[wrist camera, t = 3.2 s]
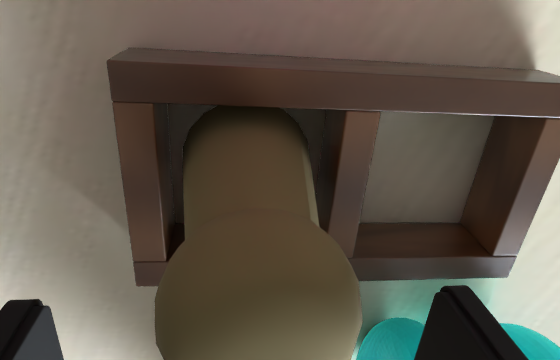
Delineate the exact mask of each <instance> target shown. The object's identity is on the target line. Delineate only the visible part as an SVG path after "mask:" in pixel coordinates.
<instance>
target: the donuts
mask: <svg viewBox="0 0 560 360" xmlns="http://www.w3.org/2000/svg"><path fill="white" fill-rule="evenodd" d="M499 324H500V325H501V326H502V328H503V329H504V330H505V331H506V332H507V334H508V335H509V336H510V337H511V339H512V340H513V341H514V342H515V343H516V345H517V346H518V347H519V348H520V350H521V351H522V352H523V353H524V354H525V356H526V357H527V358H528V359H529V360H560V347H558V346H557V345H556V344H555V343H553V342H552V341H550V340H549V339H548V338H546V337H545V336H543V335H541V334H539V333H537V332H535V331H533V330H531V329H528V328H525V327H523V326H519V325H514V324H504V323H499ZM424 327H425V325H423V324H422V323H420V322H418V321H415V320H412V319H408V318H399V317H395V318H390V319H386V320H384V321H382V322H380V323H378V324H377V325H375V326H374V327H373V328H372V329H371V330H370V331H369V332H368V334H367V335H366V337H365V338H364V340H363V342H362V344H361V346H360V349H359V352H358V355H357V359H356V360H414V358H415V355H416V352H417V349H418V345H419V342H420V339H421V336H422V333H423V330H424Z"/></svg>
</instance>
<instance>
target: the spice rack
mask: <svg viewBox="0 0 560 360" xmlns="http://www.w3.org/2000/svg"><path fill="white" fill-rule="evenodd" d="M107 68H108V76H109V83H110V91H111V98H112V101H113V103H112V105H113V113H114V120H115V128H116V136H117V143H118V151H119V158H120V166H121V174H122V181H123V189H124V197H125V204H126V212H127V220H128V227H129V235H130V243H131V250H132V258H133V261H134V262H133V266H134V273H135V281H136V286H138V287H140V286H159V283H160V281H161V278H162V276H163V274H164V272H165V269H166V267H167V265H168V263H169V260H170V259H171V257H172V256H173V254H174V253H175V251H176V250H177V248H178V247H179V246H180V245H181V244H182V243H183V242H184V241H185V225H184V224H175V215H174V199H173V184H172V168H171V153H170V137H169V122H168V106H167V103H171V104H197V105H224V106H251V107H278V108H305V109H326V117H325V125H324V132H323V140H322V148H321V156H320V164H319V172H318V179H317V187H316V195H315V199H316V206H317V213H318V221H319V227H320V228H321V229H323V230H324V231H325V232H326V233H328V234H329V235H330V236H331V237H332V238H333V239H334V240H335V241H336V242H337V243H338V244H339V245H340V247H341V249H342V250H343V252H344V254H345V256H346V257H347V259H348V261H349V263H350V264H351V266H352V268H353V270H354V272H355V275H356V277H357V279H358V281H385V280H426V279H467V278H507V277H508V276H509V273H510V271H511V269H512V266H513V264H514V262H515V259H516V257H517V256H516V255H517V254H518V252H519V250H520V248H521V245H522V243H523V241H524V239H525V236H526V234H527V232H528V229H529V227H530V225H531V223H532V220H533V218H534V216H535V213H536V211H537V209H538V206H539V204H540V202H541V200H542V197H543V195H544V193H545V190H546V188H547V186H548V184H549V181H550V179H551V177H552V174H553V172H554V170H555V167H556V165H557V163H558V161H559V158H560V76H558V75H554V74H550V73H547V72H543V71H539V70H527V69H509V68H491V67H473V66H455V65H437V64H419V63H401V62H382V61H364V60H346V59H328V58H310V57H292V56H274V55H256V54H238V53H220V52H202V51H184V50H165V49H147V48H127V49H125V50H124V51H122V52H120V53H119V54H117V55H115V56H114V57H112V58H110V59H108V60H107ZM380 111H386V112H413V113H440V114H467V115H493V116H495V119H494V122H493V125H492V128H491V131H490V134H489V137H488V140H487V143H486V146H485V149H484V152H483V155H482V158H481V161H480V164H479V167H478V170H477V173H476V176H475V179H474V182H473V185H472V188H471V191H470V194H469V197H468V200H467V203H466V206H465V209H464V212H463V215H462V218H461V221H460V223H359V221H360V216H361V211H362V206H363V201H364V196H365V190H366V185H367V180H368V175H369V170H370V165H371V160H372V154H373V149H374V144H375V139H376V134H377V129H378V124H379V118H380Z"/></svg>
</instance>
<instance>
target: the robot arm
mask: <svg viewBox="0 0 560 360" xmlns="http://www.w3.org/2000/svg"><path fill="white" fill-rule="evenodd" d="M0 360H64V359H63V355H62V351H61V347H60V343H59V340H58V336H57V332H56V328H55V324H54V320H53V317H52V313H51V309H50V307H49V306H43V304H42V301H40V300H39V299H29V300H10V301H8V302H7V303H6V304H5V305H4V306H3V307H2V309H1V310H0ZM414 360H529V359H528V358H527V357H526V356H525V354H524V353H523V352H522V351H521V350H520V348H519V347H518V346H517V345H516V343H515V342H514V341H513V340H512V339H511V337H510V336H509V335H508V334H507V332H506V331H505V330H504V329H503V328H502V326H501V325H500V324H499V323H498V321H497V320H496V319H495V318H494V317H493V315H492V314H491V313H490V312H489V310H488V309H487V308H486V307H485V306H484V304H483V303H482V302H481V301H480V299H479V298H478V297H477V296H476V295H475V293H474V292H473V291H472V290H471V289H470V288H469V287H468V286H465V285H461V286H443V287H442V288H441V290H440V292H437V293H436V294H435V296H434V299H433V302H432V305H431V308H430V311H429V314H428V317H427V320H426V324H425V327H424V330H423V333H422V336H421V339H420V342H419V345H418V349H417V352H416V355H415V358H414Z"/></svg>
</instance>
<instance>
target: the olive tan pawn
mask: <svg viewBox="0 0 560 360" xmlns="http://www.w3.org/2000/svg"><path fill="white" fill-rule="evenodd" d="M182 170H183V198H184V225H185V241H184V242H183V243H182V244H181V245H180V246H179V247H178V248H177V250H176V251H175V253H174V254H173V256H172V257H171V259H170V260H169V263H168V265H167V267H166V269H165V272H164V274H163V276H162V278H161V281H160V283H159V286H158V290H157V294H156V297H155V301H154V302H155V335H156V344H157V346H158V348H159V351H160V353H161V355H162V357H163V359H164V360H351V357H352V354H353V351H354V348H355V345H356V342H357V338H358V335H359V332H360V329H361V326H362V323H363V320H362V309H361V299H360V289H359V281H358V279H357V277H356V275H355V272H354V270H353V268H352V266H351V264H350V263H349V261H348V259H347V257H346V256H345V254H344V252H343V250H342V249H341V247H340V245H339V244H338V243H337V242H336V241H335V240H334V239H333V238H332V237H331V236H330V235H329V234H328V233H326V232H325V231H324V230H323V229H321V228H320V227H319V221H318V213H317V206H316V199H315V191H314V184H313V177H312V169H311V162H310V155H309V149H308V142H307V138H306V136H305V135H304V133H303V131H302V129H301V127H300V125H299V123H298V122H297V121H296V120H295V119H293V118H292V117H291V116H290V115H289V114H288V113H287V112H286V111H285V110H284V109H282V108H278V107H251V106H224V105H217V106H216V107H214V108H212V109H210V110H209V111H207V112H205V113H203V115H202V116H201V117H200V118H199V119H198V120H197V121H196V122H195V124H194V125H193V126H192V127H191V128H190V130H189V133H188V135H187V138H186V140H185V143H184V145H183V159H182Z"/></svg>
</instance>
